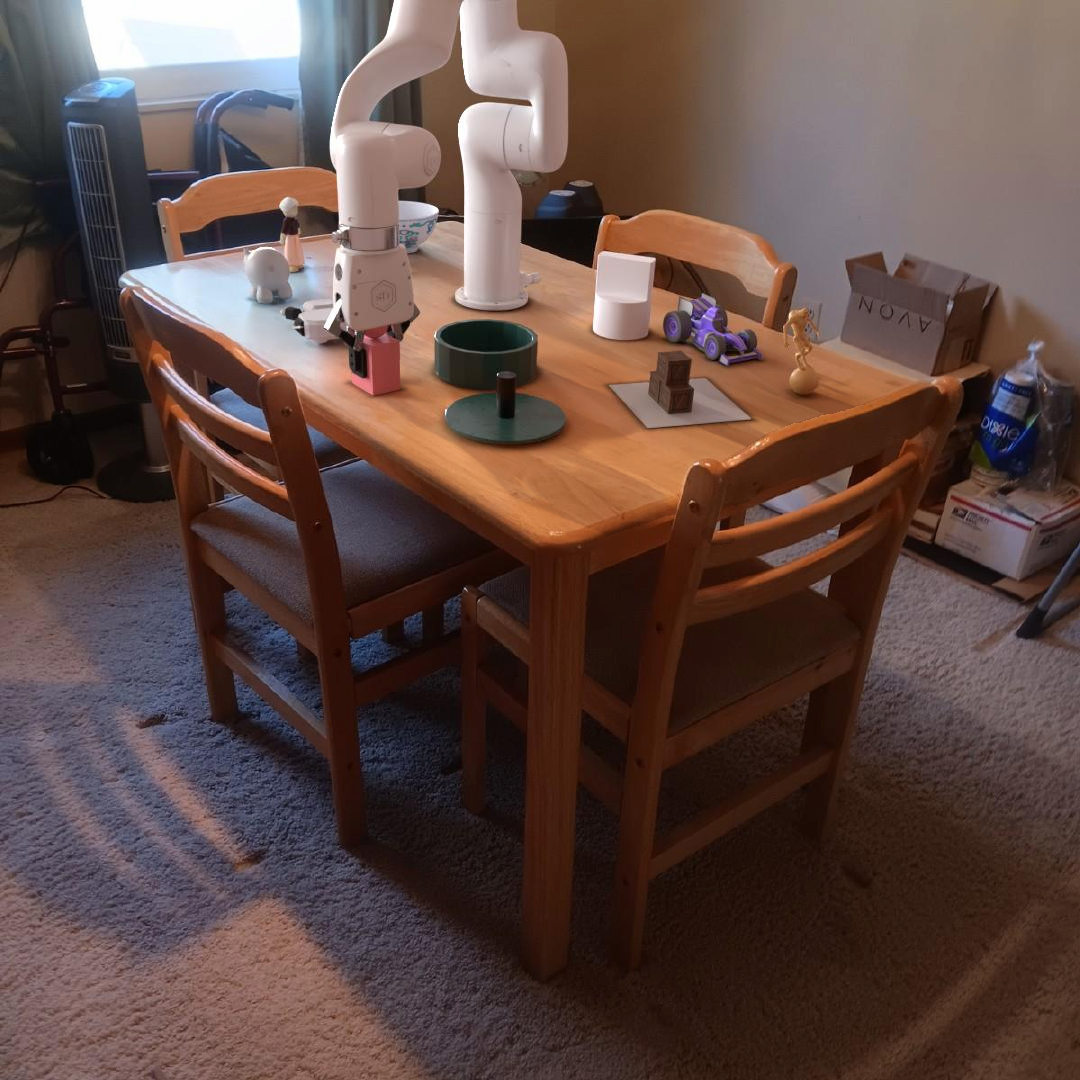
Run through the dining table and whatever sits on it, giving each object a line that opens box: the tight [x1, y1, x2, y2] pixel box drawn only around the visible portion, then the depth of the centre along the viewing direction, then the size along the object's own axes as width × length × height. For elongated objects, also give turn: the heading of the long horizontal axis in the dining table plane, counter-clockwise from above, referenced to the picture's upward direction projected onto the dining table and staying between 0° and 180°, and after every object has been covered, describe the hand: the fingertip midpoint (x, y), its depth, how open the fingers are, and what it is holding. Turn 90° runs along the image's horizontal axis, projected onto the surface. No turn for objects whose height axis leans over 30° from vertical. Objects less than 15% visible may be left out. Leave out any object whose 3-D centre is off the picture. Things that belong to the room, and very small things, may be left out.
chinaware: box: [398, 200, 440, 254], centre depth 199 cm, size 15×15×8 cm
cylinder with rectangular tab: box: [592, 250, 656, 341], centre depth 161 cm, size 9×9×12 cm
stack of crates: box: [608, 350, 752, 429], centre depth 137 cm, size 15×15×7 cm
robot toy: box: [279, 298, 346, 345], centre depth 155 cm, size 12×4×15 cm
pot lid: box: [444, 371, 567, 445], centre depth 129 cm, size 16×16×7 cm
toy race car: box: [662, 292, 763, 366], centre depth 157 cm, size 10×15×6 cm, turn 30°
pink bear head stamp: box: [350, 325, 401, 397], centre depth 136 cm, size 5×6×12 cm
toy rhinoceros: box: [242, 245, 293, 304], centre depth 170 cm, size 7×12×8 cm, turn 34°
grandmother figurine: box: [279, 196, 306, 273], centre depth 183 cm, size 8×4×13 cm, turn 179°
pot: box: [433, 318, 539, 391], centre depth 144 cm, size 15×15×5 cm
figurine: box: [782, 308, 821, 396], centre depth 141 cm, size 8×6×12 cm
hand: (375, 370), depth 138 cm, fingers closed on pink bear head stamp, 4 cm apart
